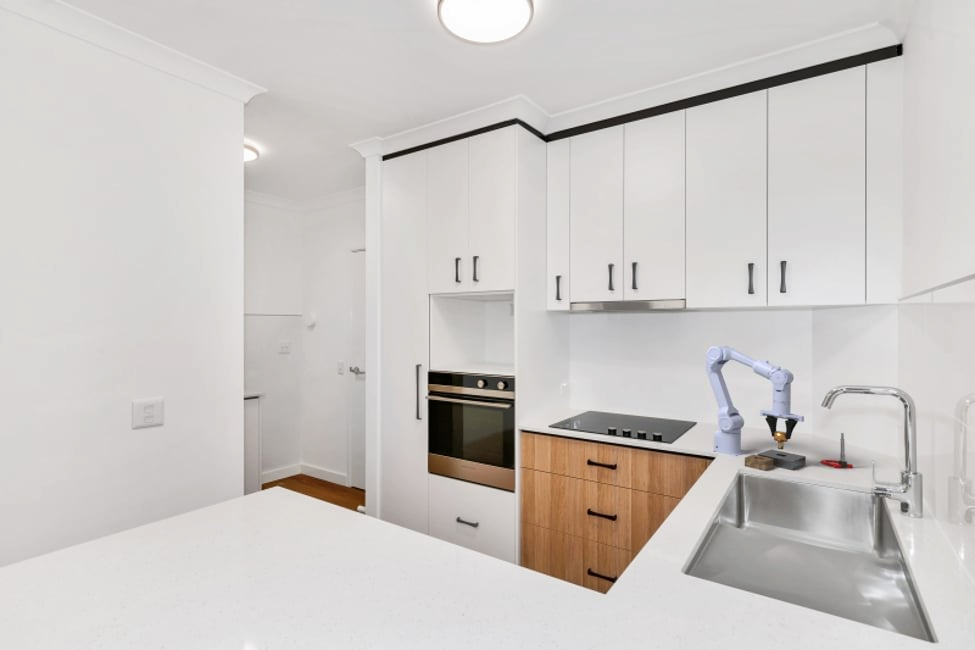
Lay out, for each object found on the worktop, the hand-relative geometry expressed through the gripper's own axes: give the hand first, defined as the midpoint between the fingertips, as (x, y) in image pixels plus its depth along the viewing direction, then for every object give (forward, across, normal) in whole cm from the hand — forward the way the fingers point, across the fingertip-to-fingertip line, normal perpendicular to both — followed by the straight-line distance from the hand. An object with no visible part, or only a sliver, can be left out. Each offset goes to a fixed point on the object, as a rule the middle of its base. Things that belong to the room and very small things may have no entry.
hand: (781, 437), depth 180 cm
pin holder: (+10, -3, -11) cm, 15 cm away
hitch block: (+10, 0, 0) cm, 10 cm away
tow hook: (+11, +12, +17) cm, 24 cm away
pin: (+4, 0, 0) cm, 4 cm away
